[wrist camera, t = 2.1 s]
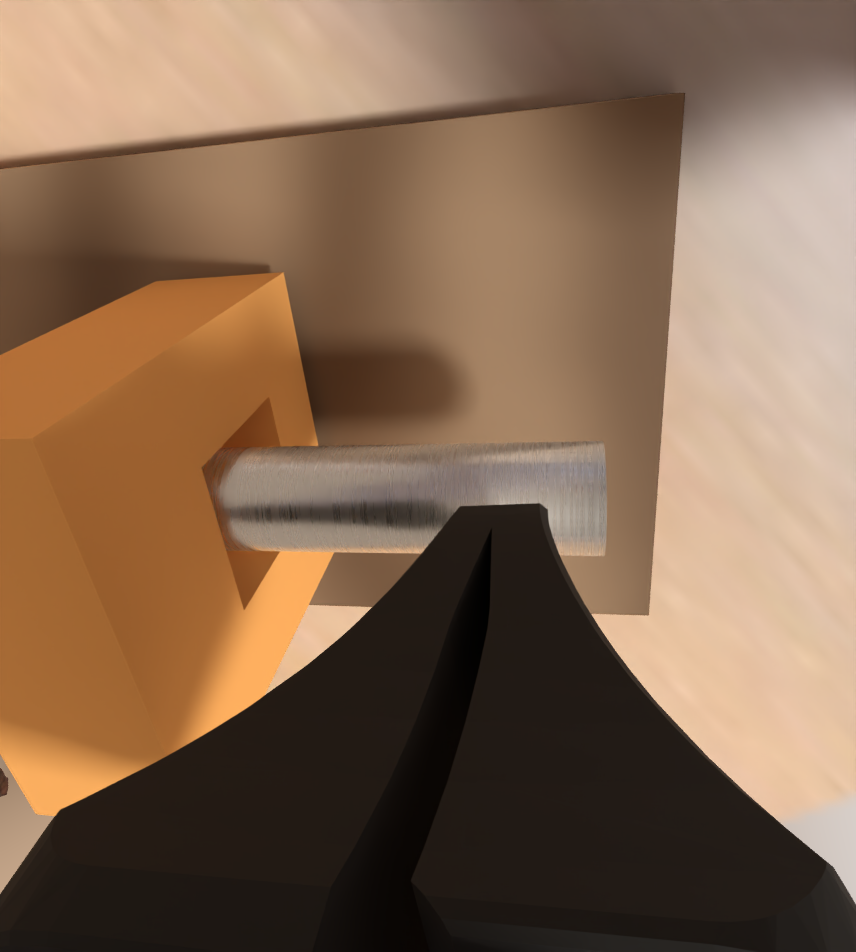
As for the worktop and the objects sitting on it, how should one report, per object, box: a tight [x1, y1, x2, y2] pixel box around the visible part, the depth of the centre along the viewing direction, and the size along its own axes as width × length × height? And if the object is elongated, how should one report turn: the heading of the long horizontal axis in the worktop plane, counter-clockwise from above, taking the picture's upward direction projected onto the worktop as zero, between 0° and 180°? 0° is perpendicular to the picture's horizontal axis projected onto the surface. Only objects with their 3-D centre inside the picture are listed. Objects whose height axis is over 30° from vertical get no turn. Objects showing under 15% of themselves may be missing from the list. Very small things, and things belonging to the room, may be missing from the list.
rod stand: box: [0, 93, 685, 615], centre depth 15 cm, size 26×12×7 cm, turn 95°
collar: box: [0, 272, 334, 816], centre depth 13 cm, size 3×7×8 cm, turn 5°
